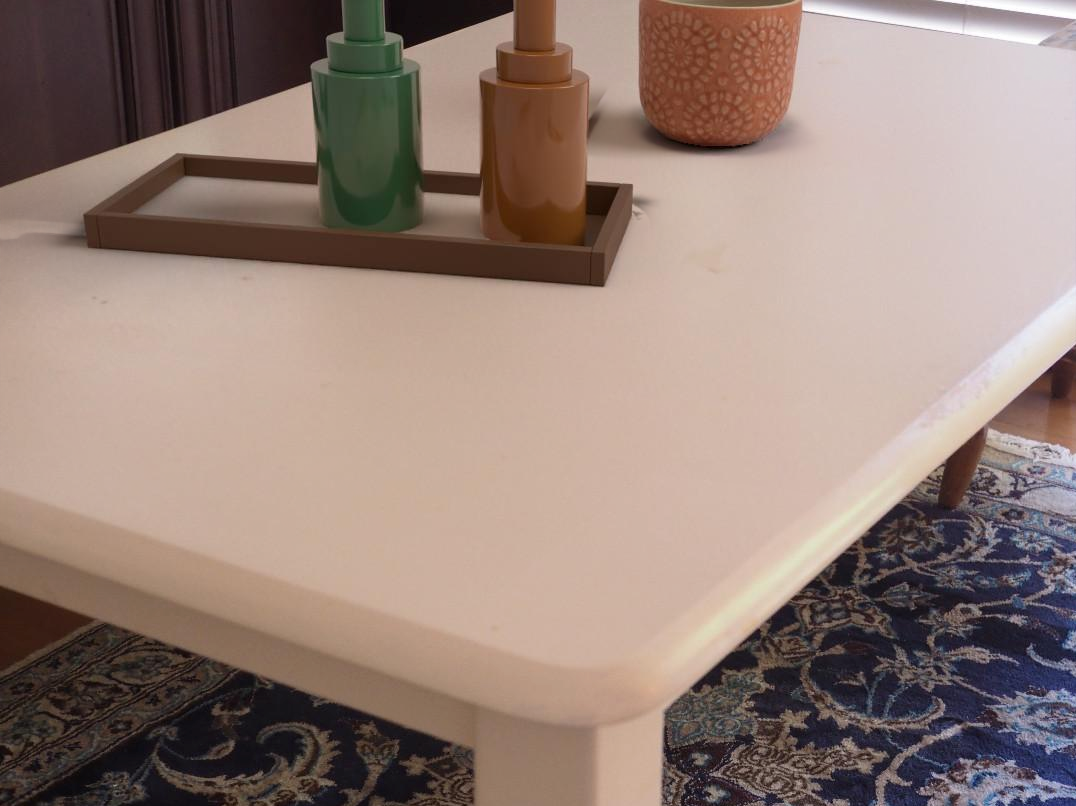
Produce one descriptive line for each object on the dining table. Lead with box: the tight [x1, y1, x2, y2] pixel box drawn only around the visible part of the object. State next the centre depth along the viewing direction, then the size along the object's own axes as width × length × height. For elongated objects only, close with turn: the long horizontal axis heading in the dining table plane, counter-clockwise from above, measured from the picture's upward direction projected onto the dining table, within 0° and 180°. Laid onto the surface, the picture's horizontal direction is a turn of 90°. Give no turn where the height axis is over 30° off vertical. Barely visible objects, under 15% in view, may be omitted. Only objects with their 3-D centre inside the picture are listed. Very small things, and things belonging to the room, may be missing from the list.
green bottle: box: [309, 0, 426, 233], centre depth 84 cm, size 6×6×15 cm
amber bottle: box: [478, 0, 590, 246], centre depth 83 cm, size 6×6×15 cm
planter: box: [638, 0, 803, 147], centre depth 109 cm, size 12×12×11 cm
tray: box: [82, 152, 634, 288], centre depth 87 cm, size 31×14×3 cm, turn 82°
